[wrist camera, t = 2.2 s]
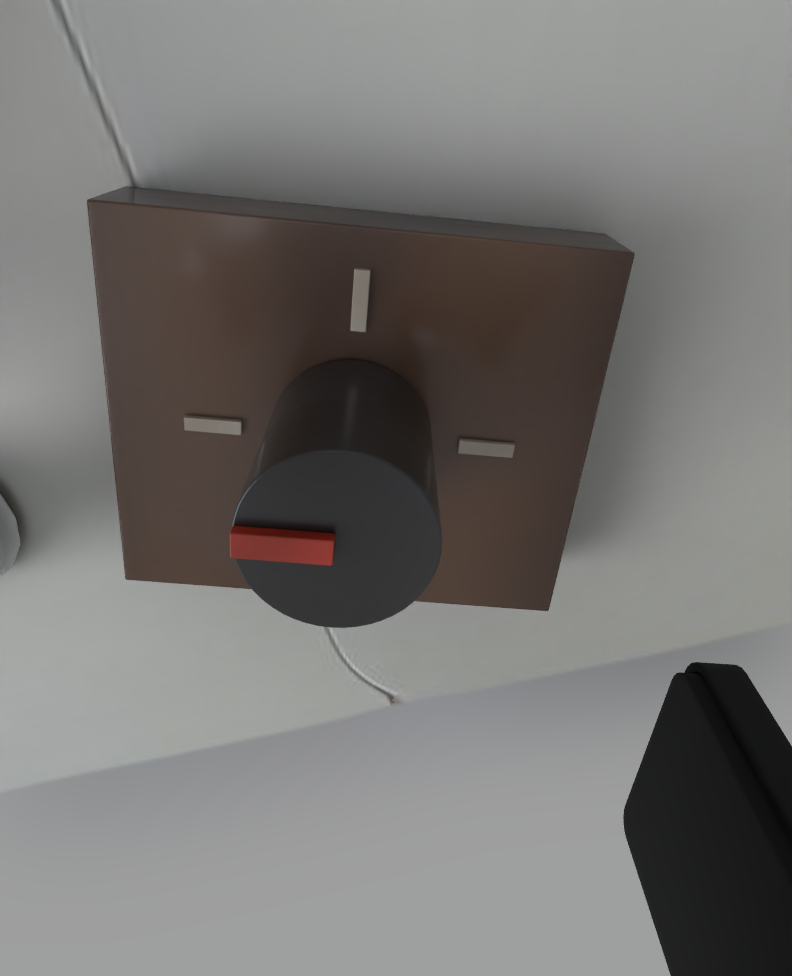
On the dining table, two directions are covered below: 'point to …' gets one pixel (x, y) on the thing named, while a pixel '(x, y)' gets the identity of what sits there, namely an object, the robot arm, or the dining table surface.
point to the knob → (341, 499)
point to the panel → (350, 336)
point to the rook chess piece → (7, 537)
